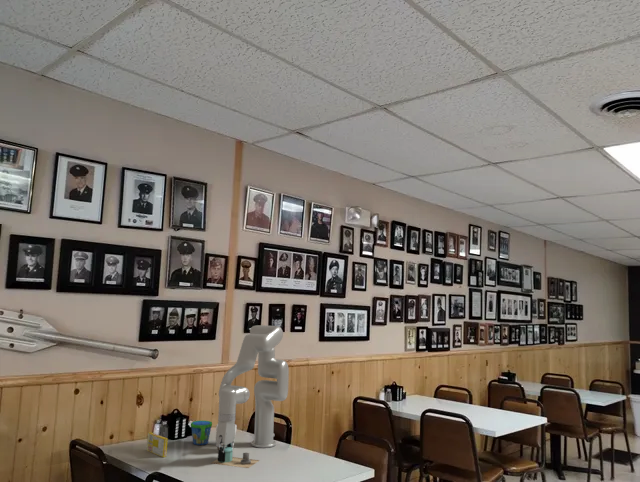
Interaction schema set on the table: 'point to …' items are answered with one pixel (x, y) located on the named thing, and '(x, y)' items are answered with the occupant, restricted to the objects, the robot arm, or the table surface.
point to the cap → (228, 454)
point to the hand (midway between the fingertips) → (225, 458)
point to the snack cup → (201, 432)
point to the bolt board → (238, 461)
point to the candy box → (157, 444)
